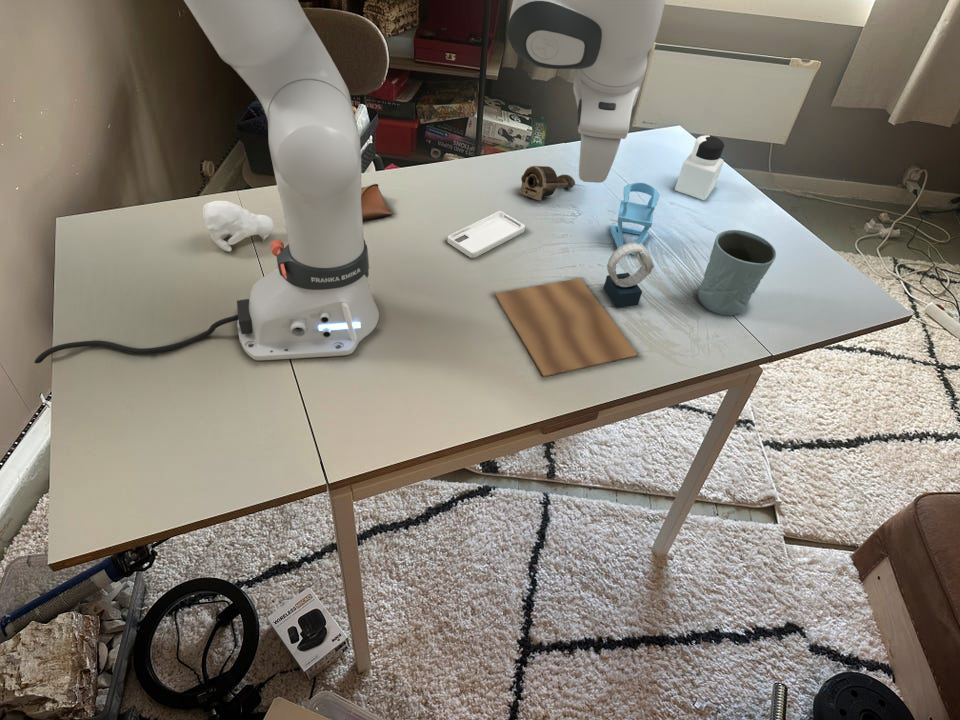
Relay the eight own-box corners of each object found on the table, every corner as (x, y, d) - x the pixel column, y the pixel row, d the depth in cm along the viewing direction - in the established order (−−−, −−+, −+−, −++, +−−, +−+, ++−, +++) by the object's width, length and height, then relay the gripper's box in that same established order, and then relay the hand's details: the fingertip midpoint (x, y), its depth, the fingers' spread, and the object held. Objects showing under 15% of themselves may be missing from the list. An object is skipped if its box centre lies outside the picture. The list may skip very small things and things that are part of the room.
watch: (647, 303, 115) (664, 253, 107) (607, 309, 113) (621, 258, 105) (633, 284, 119) (648, 234, 111) (594, 290, 117) (607, 239, 109)
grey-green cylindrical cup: (683, 288, 119) (704, 233, 110) (728, 279, 122) (751, 225, 113) (715, 323, 112) (740, 267, 104) (762, 312, 115) (789, 258, 107)
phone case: (472, 259, 121) (525, 231, 129) (472, 253, 120) (526, 225, 128) (446, 241, 124) (499, 215, 132) (446, 236, 123) (500, 210, 131)
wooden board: (543, 377, 100) (543, 375, 100) (495, 295, 114) (495, 293, 113) (637, 356, 105) (637, 354, 105) (580, 279, 118) (580, 278, 118)
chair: (606, 250, 126) (620, 196, 117) (610, 227, 132) (624, 174, 123) (645, 257, 125) (662, 203, 117) (648, 235, 131) (664, 182, 122)
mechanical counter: (512, 160, 138) (528, 173, 130) (567, 150, 140) (586, 163, 132) (514, 192, 142) (530, 207, 134) (567, 182, 145) (586, 196, 136)
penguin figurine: (198, 195, 114) (268, 190, 118) (205, 236, 119) (271, 230, 124) (203, 213, 110) (275, 208, 114) (209, 255, 115) (277, 248, 120)
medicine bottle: (714, 188, 147) (732, 138, 138) (704, 201, 142) (722, 150, 134) (684, 178, 149) (700, 128, 141) (674, 190, 145) (690, 140, 136)
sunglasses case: (310, 235, 121) (300, 199, 119) (301, 234, 128) (291, 201, 125) (396, 214, 129) (388, 180, 127) (384, 214, 135) (376, 182, 133)
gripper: (589, 24, 90) (574, 101, 102) (578, 134, 81) (563, 204, 94) (634, 29, 89) (613, 106, 102) (628, 140, 81) (606, 209, 93)
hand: (589, 154), depth 98 cm, fingers open, 8 cm apart
